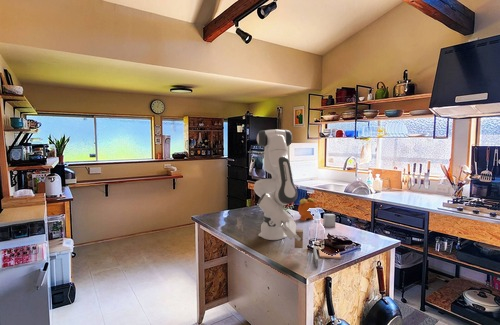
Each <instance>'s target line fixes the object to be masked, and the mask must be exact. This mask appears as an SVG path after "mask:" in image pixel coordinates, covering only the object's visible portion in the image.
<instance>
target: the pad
mask: <svg viewBox="0 0 500 325" xmlns="http://www.w3.org/2000/svg"><path fill="white" fill-rule="evenodd" d="M336 252H337V251H336ZM318 255H319V258H320V259H321V258H323V259H336V260H337V259H338V260H341V259H342V257H341V256H342V255H341V254H340V252H339V253H338V254H336V255H333V256H331V255H328V254H326V253H324V252H322V251H321V250H318Z"/></svg>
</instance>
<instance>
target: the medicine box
mask: <svg viewBox="0 0 500 325" xmlns="http://www.w3.org/2000/svg"><path fill="white" fill-rule="evenodd" d="M322 215H323V218H322V219H323V221H322V222H323V224H322V225H323V226H324V227H325V228H326V227H336V215H335V214H334V213H323V214H322Z"/></svg>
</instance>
